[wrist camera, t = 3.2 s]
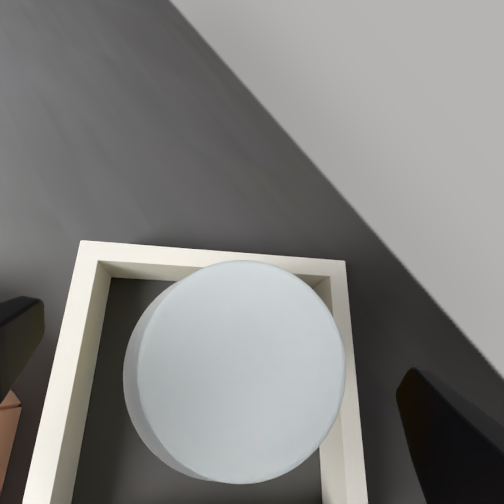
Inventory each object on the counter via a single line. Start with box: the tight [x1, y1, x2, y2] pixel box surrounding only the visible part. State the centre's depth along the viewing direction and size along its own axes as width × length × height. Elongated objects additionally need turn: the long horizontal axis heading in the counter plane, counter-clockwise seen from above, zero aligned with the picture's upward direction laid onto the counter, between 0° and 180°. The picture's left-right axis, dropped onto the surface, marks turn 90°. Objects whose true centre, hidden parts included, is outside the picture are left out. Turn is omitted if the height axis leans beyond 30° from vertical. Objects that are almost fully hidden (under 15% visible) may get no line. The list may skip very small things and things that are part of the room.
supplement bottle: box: [123, 260, 346, 484], centre depth 10 cm, size 5×5×10 cm
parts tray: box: [22, 240, 368, 504], centre depth 13 cm, size 12×12×2 cm
